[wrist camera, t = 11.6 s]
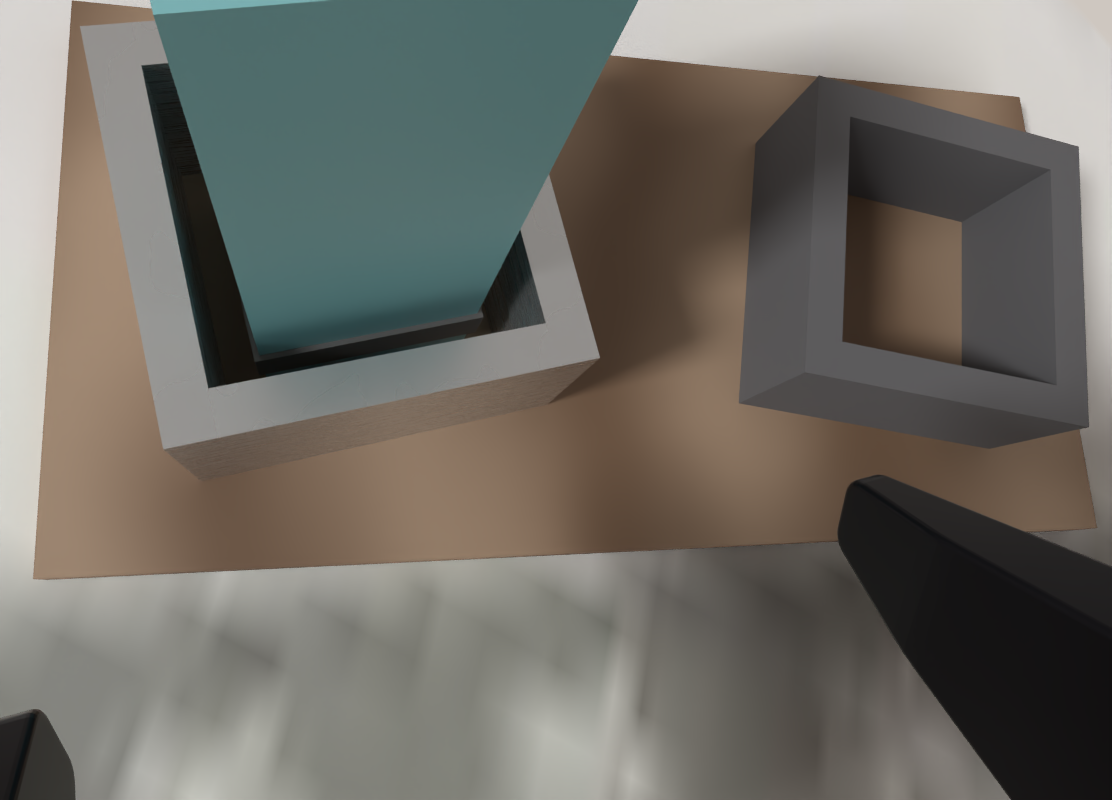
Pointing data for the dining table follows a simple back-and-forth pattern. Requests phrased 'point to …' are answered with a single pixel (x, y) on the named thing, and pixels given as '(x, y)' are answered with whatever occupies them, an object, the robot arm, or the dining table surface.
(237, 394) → the port
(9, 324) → the dining table surface
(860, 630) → the dining table surface
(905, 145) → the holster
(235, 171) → the plug
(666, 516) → the panel board
